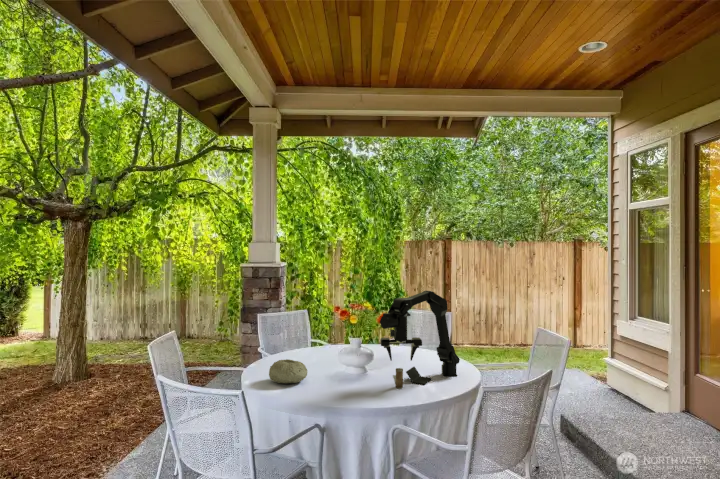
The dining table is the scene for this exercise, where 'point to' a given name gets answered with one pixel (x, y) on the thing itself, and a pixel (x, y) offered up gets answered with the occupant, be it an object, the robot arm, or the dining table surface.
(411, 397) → the dining table surface
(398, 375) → the tapered tan cylinder
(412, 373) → the handheld gaming console
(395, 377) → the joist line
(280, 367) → the olive green stone
